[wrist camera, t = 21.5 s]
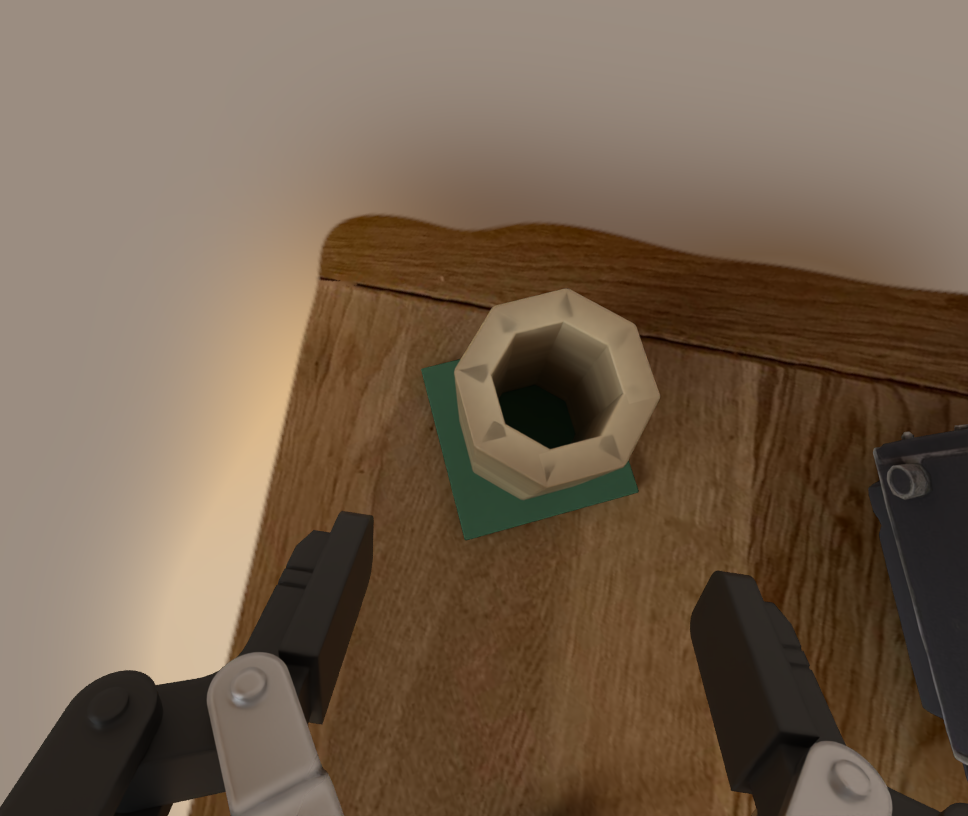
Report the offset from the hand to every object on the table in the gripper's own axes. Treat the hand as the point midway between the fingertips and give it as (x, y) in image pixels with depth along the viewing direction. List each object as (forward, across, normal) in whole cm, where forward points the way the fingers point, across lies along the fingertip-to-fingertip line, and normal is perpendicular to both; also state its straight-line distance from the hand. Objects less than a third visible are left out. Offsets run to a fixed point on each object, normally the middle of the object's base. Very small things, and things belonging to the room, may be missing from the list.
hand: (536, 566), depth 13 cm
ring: (+12, 0, +4) cm, 12 cm away
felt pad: (+12, 0, +4) cm, 13 cm away
